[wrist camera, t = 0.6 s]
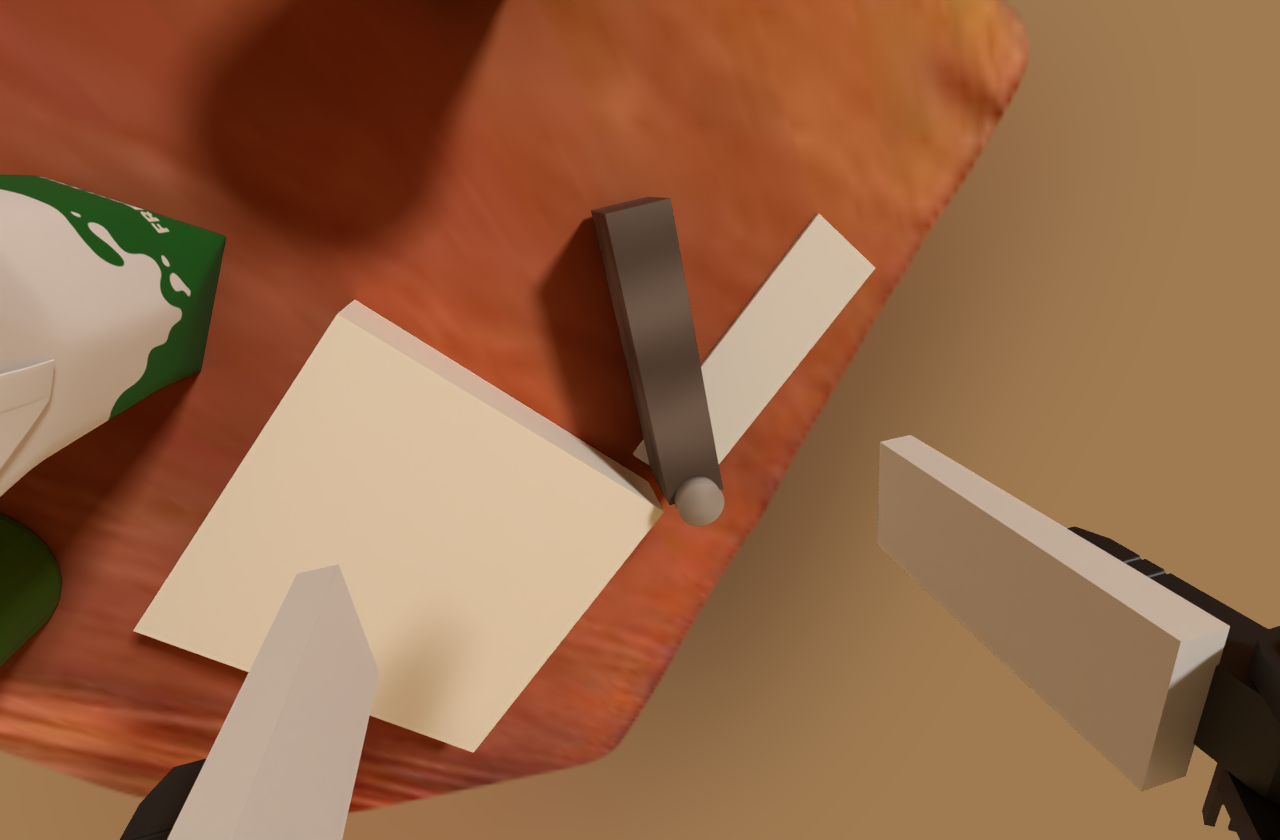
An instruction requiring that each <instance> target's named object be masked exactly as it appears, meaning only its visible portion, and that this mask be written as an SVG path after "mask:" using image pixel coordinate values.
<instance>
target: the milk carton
mask: <svg viewBox="0 0 1280 840" xmlns="http://www.w3.org/2000/svg"><path fill="white" fill-rule="evenodd" d="M225 240H226V237H225V236H223V235H220V234H217V233H214V232H211V231H208V230H205V229H202V228H199V227H196V226H193V225H190V224H187V223H184V222H181V221H178V220H174V219H171V218H168V217H165V216H162V215H159V214H156V213H153V212H150V211H147V210H144V209H141V208H138V207H135V206H132V205H128V204H125V203H122V202H119V201H116V200H113V199H110V198H107V197H104V196H101V195H97V194H94V193H91V192H88V191H85V190H82V189H79V188H76V187H73V186H69V185H66V184H63V183H60V182H57V181H54V180H51V179H47V178H43V177H39V176H31V175H0V497H1V496H2V495H3V494H4V493H5V492H6V491H7V490H8V489H9V488H11V487H12V486H13V485H14V484H15V483H16V482H17V481H18V480H20V479H21V478H22V477H23V476H24V475H25V474H26V473H28V472H29V471H30V470H31V469H32V468H34V467H35V466H36V465H38V464H39V463H40V462H42V461H43V460H45V459H46V458H48V457H49V456H51V455H53V454H54V453H56V452H58V451H59V450H61V449H62V448H64V447H66V446H67V445H69V444H70V443H72V442H74V441H75V440H77V439H79V438H80V437H82V436H83V435H85V434H87V433H88V432H90V431H92V430H93V429H95V428H97V427H98V426H100V425H101V424H103V423H105V422H106V421H108V420H110V419H111V418H113V417H114V416H116V415H118V414H119V413H121V412H123V411H124V410H126V409H128V408H129V407H131V406H132V405H134V404H136V403H137V402H139V401H141V400H142V399H144V398H146V397H147V396H149V395H151V394H152V393H154V392H155V391H157V390H159V389H161V388H163V387H166V386H168V385H170V384H172V383H174V382H177V381H179V380H181V379H183V378H185V377H188V376H190V375H192V374H194V373H197V372H199V371H201V368H202V363H203V357H204V352H205V347H206V341H207V336H208V331H209V325H210V320H211V315H212V309H213V304H214V299H215V293H216V288H217V283H218V277H219V272H220V267H221V262H222V256H223V251H224V246H225Z"/></svg>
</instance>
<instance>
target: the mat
mask: <svg viewBox="0 0 1280 840" xmlns="http://www.w3.org/2000/svg"><path fill="white" fill-rule="evenodd" d="M874 269H875V267H874V266H873V265H872V264H871V263H870V262H869V261H868V260H867V259H866V258H865V257H864V256H863V255H861V254H860V253H859V252H858V251H857V250H856V249H855V248H854V247H853V246H852V245H851V244H850V243H849V242H848V241H847V240H846V239H845V238H844V237H843V236H842V235H841V234H840V233H839V232H838V231H837V230H835V229H834V228H833V227H832V226H831V225H830V224H829V223H828V222H827V221H826V220H825V219H824V218H823V217H822V216H821V215H820V214H818V213H816V215H815V216H814V217H813V218H812V220H811V221H810V222H809V224H808V225H807V226H806V228H805V229H804V230H803V232H802V233H801V234H800V235H799V237H798V238H797V239H796V241H795V242H794V243H793V245H792V246H791V247H790V249H789V250H788V251H787V252H786V254H785V255H784V256H783V258H782V259H781V260H780V262H779V263H778V264H777V265H776V267H775V268H774V269H773V271H772V272H771V273H770V275H769V276H768V277H767V279H766V280H765V281H764V282H763V284H762V285H761V286H760V288H759V289H758V290H757V292H756V293H755V294H754V295H753V297H752V298H751V299H750V301H749V302H748V303H747V305H746V306H745V307H744V309H743V310H742V311H741V312H740V314H739V315H738V316H737V318H736V319H735V320H734V322H733V323H732V324H731V326H730V327H729V328H728V329H727V331H726V332H725V333H724V335H723V336H722V337H721V339H720V340H719V341H718V342H717V344H716V345H715V346H714V348H713V349H712V350H711V352H710V353H709V354H708V356H707V357H706V358H705V359H704V361H703V362H702V363H701V370H702V376H703V381H704V387H705V392H706V398H707V403H708V409H709V415H710V420H711V426H712V431H713V437H714V442H715V448H716V453H717V459H718V464H720V462H721V461H722V460H723V459H724V457H725V456H726V455H727V454H728V452H729V451H730V450H731V449H732V447H733V446H734V445H735V444H736V442H737V441H738V440H739V439H740V437H741V436H742V435H743V434H744V432H745V431H746V430H747V429H748V427H749V426H750V425H751V424H752V422H753V421H754V420H755V418H756V417H757V416H758V415H759V413H760V412H761V411H762V410H763V408H764V407H765V406H766V405H767V403H768V402H769V401H770V400H771V398H772V397H773V396H774V395H775V393H776V392H777V391H778V390H779V388H780V387H781V386H782V385H783V383H784V382H785V381H786V380H787V378H788V377H789V376H790V375H791V373H792V372H793V371H794V370H795V368H796V367H797V366H798V365H799V363H800V362H801V361H802V359H803V358H804V357H805V356H806V354H807V353H808V352H809V351H810V349H811V348H812V347H813V346H814V344H815V343H816V342H817V341H818V339H819V338H820V337H821V336H822V334H823V333H824V332H825V331H826V329H827V328H828V327H829V326H830V324H831V323H832V322H833V321H834V319H835V318H836V317H837V316H838V314H839V313H840V312H841V311H842V309H843V308H844V307H845V306H846V304H847V303H848V302H849V300H850V299H851V298H852V297H853V295H854V294H855V293H856V292H857V290H858V289H859V288H860V287H861V285H862V284H863V283H864V282H865V280H866V279H867V278H868V277H869V275H870V274H871V273H872V272H873V270H874ZM632 454H633V456H635V457H637V458H638V459H640V460H641V461H643V462H644V463H646V464H648V465H649V466H650V464H649V460H648V456H647V451H646V447H645V443H644V439H643V440H642V442H641V443H640V444H639V446H638V447H637V448H636V449H635V451H634V452H633V453H632Z"/></svg>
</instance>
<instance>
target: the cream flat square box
mask: <svg viewBox="0 0 1280 840" xmlns="http://www.w3.org/2000/svg"><path fill="white" fill-rule="evenodd" d="M663 512H664V510H663V508H662V507H661V505H660V503H659V501H658V499H657V497H656V495H655V493H654V491H653V489H652V488H651V486H650V484H649V482H648V481H646V480H645V479H643V478H642V477H640V476H638V475H637V474H635V473H633V472H632V471H630V470H629V469H627V468H625V467H624V466H622V465H621V464H619V463H617V462H616V461H614V460H613V459H611V458H609V457H608V456H606V455H604V454H603V453H601V452H600V451H598V450H596V449H595V448H593V447H592V446H590V445H588V444H587V443H585V442H584V441H582V440H580V439H579V438H577V437H575V436H574V435H572V434H571V433H569V432H567V431H566V430H564V429H563V428H561V427H559V426H558V425H556V424H555V423H553V422H551V421H550V420H548V419H546V418H545V417H543V416H542V415H540V414H538V413H537V412H535V411H534V410H532V409H530V408H529V407H527V406H526V405H524V404H522V403H521V402H519V401H517V400H516V399H514V398H513V397H511V396H509V395H508V394H506V393H505V392H503V391H501V390H500V389H498V388H497V387H495V386H493V385H492V384H490V383H488V382H487V381H485V380H484V379H482V378H480V377H479V376H477V375H476V374H474V373H472V372H471V371H469V370H468V369H466V368H464V367H463V366H461V365H459V364H458V363H456V362H455V361H453V360H451V359H450V358H448V357H447V356H445V355H443V354H442V353H440V352H439V351H437V350H435V349H434V348H432V347H430V346H429V345H427V344H426V343H424V342H422V341H421V340H419V339H418V338H416V337H414V336H413V335H411V334H409V333H408V332H406V331H405V330H403V329H401V328H400V327H398V326H397V325H395V324H393V323H392V322H390V321H389V320H387V319H385V318H384V317H382V316H380V315H379V314H377V313H376V312H374V311H372V310H371V309H369V308H368V307H366V306H364V305H363V304H361V303H360V302H358V301H356V300H353V301H352V302H351V303H350V304H349V305H347V306H346V307H345V308H344V309H343V310H341V311H340V312H339V313H338V314H337V315H336V317H335V318H334V320H333V321H332V323H331V324H330V326H329V327H328V329H327V331H326V332H325V334H324V335H323V337H322V338H321V340H320V341H319V343H318V345H317V346H316V348H315V349H314V351H313V352H312V354H311V355H310V357H309V359H308V360H307V362H306V363H305V365H304V366H303V368H302V369H301V371H300V372H299V374H298V376H297V377H296V379H295V380H294V382H293V383H292V385H291V386H290V388H289V390H288V391H287V393H286V394H285V396H284V397H283V399H282V400H281V402H280V404H279V405H278V407H277V408H276V410H275V411H274V413H273V414H272V416H271V418H270V419H269V421H268V422H267V424H266V425H265V427H264V428H263V430H262V432H261V433H260V435H259V436H258V438H257V439H256V441H255V442H254V444H253V446H252V447H251V449H250V450H249V452H248V453H247V455H246V456H245V458H244V460H243V461H242V463H241V464H240V466H239V467H238V469H237V470H236V472H235V473H234V475H233V477H232V478H231V480H230V481H229V483H228V484H227V486H226V487H225V489H224V491H223V492H222V494H221V495H220V497H219V498H218V500H217V501H216V503H215V505H214V506H213V508H212V509H211V511H210V512H209V514H208V515H207V517H206V519H205V520H204V522H203V523H202V525H201V526H200V528H199V529H198V531H197V533H196V534H195V536H194V537H193V539H192V540H191V542H190V543H189V545H188V547H187V548H186V550H185V551H184V553H183V554H182V556H181V557H180V559H179V560H178V562H177V564H176V565H175V567H174V568H173V570H172V571H171V573H170V574H169V576H168V578H167V579H166V581H165V582H164V584H163V585H162V587H161V588H160V590H159V592H158V593H157V595H156V596H155V598H154V599H153V601H152V602H151V604H150V606H149V607H148V609H147V610H146V612H145V613H144V615H143V616H142V618H141V620H140V621H139V623H138V624H137V626H136V627H135V629H134V630H133V631H134V632H137V633H140V634H143V635H146V636H148V637H151V638H154V639H157V640H160V641H162V642H165V643H168V644H171V645H174V646H176V647H179V648H182V649H185V650H188V651H190V652H193V653H196V654H199V655H202V656H204V657H207V658H210V659H213V660H216V661H218V662H221V663H224V664H227V665H230V666H232V667H235V668H238V669H241V670H244V671H246V672H249V671H250V669H251V667H252V665H253V663H254V661H255V659H256V657H257V655H258V652H259V650H260V648H261V646H262V644H263V642H264V640H265V638H266V636H267V634H268V632H269V630H270V628H271V626H272V624H273V622H274V620H275V618H276V616H277V614H278V612H279V609H280V607H281V605H282V603H283V601H284V599H285V597H286V595H287V593H288V591H289V589H290V587H291V585H292V583H293V581H294V579H295V577H296V575H297V574H298V573H302V572H307V571H311V570H316V569H320V568H324V567H329V566H333V565H338V564H339V567H340V569H341V572H342V575H343V577H344V580H345V583H346V585H347V588H348V591H349V593H350V596H351V599H352V601H353V604H354V607H355V609H356V612H357V615H358V617H359V620H360V623H361V625H362V628H363V631H364V633H365V636H366V639H367V641H368V644H369V647H370V649H371V652H372V655H373V657H374V660H375V663H376V665H377V668H378V671H379V676H378V680H377V685H376V689H375V694H374V698H373V703H372V707H371V712H370V716H372V717H375V718H378V719H381V720H384V721H386V722H389V723H392V724H395V725H398V726H400V727H403V728H406V729H409V730H412V731H414V732H417V733H420V734H423V735H426V736H428V737H431V738H434V739H437V740H440V741H442V742H445V743H448V744H451V745H454V746H456V747H459V748H462V749H465V750H468V751H470V752H473V753H474V751H475V750H476V749H477V747H478V746H479V745H480V744H481V742H482V741H483V740H484V739H485V737H486V736H487V735H488V734H489V732H490V731H491V730H492V729H493V727H494V726H495V725H496V723H497V722H498V721H499V720H500V718H501V717H502V716H503V715H504V713H505V712H506V711H507V710H508V708H509V707H510V706H511V705H512V703H513V702H514V701H515V699H516V698H517V697H518V696H519V694H520V693H521V692H522V691H523V689H524V688H525V687H526V686H527V684H528V683H529V682H530V680H531V679H532V678H533V677H534V675H535V674H536V673H537V672H538V670H539V669H540V668H541V667H542V665H543V664H544V663H545V662H546V660H547V659H548V658H549V656H550V655H551V654H552V653H553V651H554V650H555V649H556V648H557V646H558V645H559V644H560V643H561V641H562V640H563V639H564V638H565V636H566V635H567V634H568V632H569V631H570V630H571V629H572V627H573V626H574V625H575V624H576V622H577V621H578V620H579V619H580V617H581V616H582V615H583V613H584V612H585V611H586V610H587V608H588V607H589V606H590V605H591V603H592V602H593V601H594V600H595V598H596V597H597V596H598V595H599V593H600V592H601V591H602V589H603V588H604V587H605V586H606V584H607V583H608V582H609V581H610V579H611V578H612V577H613V576H614V574H615V573H616V572H617V571H618V569H619V568H620V567H621V565H622V564H623V563H624V562H625V560H626V559H627V558H628V557H629V555H630V554H631V553H632V552H633V550H634V549H635V548H636V546H637V545H638V544H639V543H640V541H641V540H642V539H643V538H644V536H645V535H646V534H647V533H648V531H649V530H650V529H651V528H652V526H653V525H654V524H655V522H656V521H657V520H658V519H659V517H660V516H661V515H662V514H663Z"/></svg>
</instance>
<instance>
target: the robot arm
mask: <svg viewBox="0 0 1280 840" xmlns="http://www.w3.org/2000/svg"><path fill="white" fill-rule="evenodd" d="M879 463H880V465H879V505H878V546H879V547H880V548H881V549H882V550H883V551H884V552H885V553H886V554H887V555H888V556H889V557H890V558H892V559H893V560H894V561H895V562H896V563H897V564H898V565H899V566H900V567H901V568H902V569H904V571H906V572H907V573H908V574H909V575H910V576H911V577H912V578H913V579H914V580H915V581H916V582H917V583H919V584H920V586H922V587H923V588H924V589H925V590H926V591H927V592H928V593H929V594H930V595H931V596H932V597H933V598H934V599H936V600H937V601H938V602H939V603H940V604H941V605H942V606H943V607H944V608H945V609H946V610H947V611H948V612H949V613H950V614H952V615H953V616H954V617H955V618H956V619H957V620H958V621H959V622H960V623H961V624H962V625H963V626H964V627H966V628H967V629H968V630H969V631H970V632H971V633H972V634H973V635H974V636H975V637H976V638H977V639H978V640H979V641H980V642H982V643H983V644H984V645H985V646H986V647H987V648H988V649H989V650H990V651H991V652H993V654H994V655H996V656H997V657H998V658H999V659H1000V660H1001V661H1002V662H1003V663H1004V664H1005V665H1006V666H1007V667H1009V669H1011V670H1012V671H1013V672H1014V673H1015V674H1016V675H1017V676H1018V677H1019V678H1020V679H1021V680H1022V681H1024V683H1026V684H1027V685H1028V686H1029V687H1030V688H1031V689H1032V690H1033V691H1034V692H1035V693H1036V694H1037V695H1038V696H1040V698H1042V699H1043V700H1044V701H1045V702H1046V703H1047V704H1048V705H1049V706H1050V707H1052V709H1053V710H1054V711H1056V712H1057V713H1058V714H1059V715H1060V716H1061V717H1062V718H1063V719H1064V720H1065V721H1066V722H1067V723H1068V724H1070V725H1071V726H1072V727H1073V728H1074V729H1075V730H1076V731H1077V732H1078V733H1079V734H1080V735H1081V736H1082V737H1083V738H1085V739H1086V740H1087V741H1088V742H1089V743H1090V744H1091V745H1092V746H1093V747H1094V748H1095V749H1096V750H1097V751H1098V752H1099V753H1101V754H1102V755H1103V756H1104V757H1105V758H1106V759H1107V760H1108V761H1109V762H1110V763H1111V764H1112V765H1113V766H1114V767H1116V768H1117V769H1118V770H1119V771H1120V772H1121V773H1122V774H1123V775H1124V776H1125V777H1126V778H1127V779H1128V780H1130V781H1131V782H1132V783H1133V784H1134V785H1135V786H1136V787H1137V788H1138V789H1139V790H1140V791H1144V790H1147V789H1150V788H1153V787H1156V786H1159V785H1161V784H1164V783H1167V782H1170V781H1173V780H1176V779H1178V778H1181V777H1184V776H1186V773H1187V769H1188V766H1189V762H1190V759H1191V756H1192V752H1193V749H1194V746H1195V745H1196V746H1197V747H1199V748H1200V749H1201V750H1202V751H1204V752H1205V753H1206V754H1207V755H1209V756H1210V757H1211V758H1212V759H1214V760H1215V761H1216V762H1217V766H1216V769H1215V772H1214V775H1213V778H1212V782H1211V785H1210V788H1209V791H1208V794H1207V797H1206V800H1205V803H1204V806H1203V810H1202V812H1203V819H1204V824H1205V825H1209V826H1213V827H1214V826H1215V823H1216V820H1217V817H1218V815H1219V811H1220V808H1221V806H1222V805H1225V808H1226V810H1227V812H1228V814H1229V816H1230V818H1231V820H1230V823H1229V826H1228V829H1229V830H1231V831H1235V832H1237V834H1238V836H1239V838H1240V840H1280V626H1278V627H1275V628H1272V629H1267V628H1265V627H1263V626H1262V625H1260V624H1258V623H1256V622H1254V621H1253V620H1251V619H1249V618H1248V617H1246V616H1244V615H1242V614H1241V613H1239V612H1237V611H1235V610H1234V609H1232V608H1230V607H1228V606H1227V605H1225V604H1223V603H1221V602H1220V601H1218V600H1216V599H1214V598H1213V597H1211V596H1209V595H1207V594H1206V593H1204V592H1202V591H1200V590H1198V589H1197V588H1195V587H1193V586H1191V585H1190V584H1188V583H1187V582H1185V581H1183V580H1181V579H1180V578H1178V577H1176V576H1174V575H1173V574H1171V573H1170V574H1166V573H1165V572H1164V569H1162V568H1160V567H1159V566H1157V565H1155V564H1153V563H1151V562H1150V561H1148V560H1146V559H1144V560H1142V559H1140V556H1139V555H1138V554H1136V553H1134V552H1132V551H1131V550H1129V549H1127V548H1125V547H1124V546H1122V545H1120V544H1118V543H1117V542H1115V541H1113V540H1111V539H1110V538H1107V537H1104V536H1100V535H1098V534H1095V533H1092V532H1089V531H1086V530H1084V529H1080V528H1078V527H1071V528H1065V527H1063V526H1062V525H1060V524H1058V523H1057V522H1055V521H1053V520H1052V519H1050V518H1048V517H1047V516H1045V515H1043V514H1042V513H1040V512H1038V511H1037V510H1035V509H1033V508H1032V507H1030V506H1028V505H1026V504H1025V503H1023V502H1022V501H1020V500H1018V499H1017V498H1015V497H1013V496H1011V495H1010V494H1008V493H1007V492H1005V491H1003V490H1002V489H1000V488H998V487H996V486H995V485H993V484H992V483H990V482H988V481H987V480H985V479H983V478H981V477H980V476H978V475H976V474H975V473H973V472H972V471H970V470H968V469H966V468H965V467H963V466H961V465H960V464H958V463H957V462H955V461H953V460H951V459H950V458H948V457H946V456H945V455H943V454H941V453H940V452H938V451H936V450H934V449H933V448H931V447H930V446H928V445H926V444H925V443H923V442H921V441H920V440H918V439H916V438H915V437H913V436H911V435H909V436H905V437H900V438H896V439H891V440H887V441H882V442H880V462H879ZM378 676H379V671H378V668H377V665H376V663H375V660H374V657H373V655H372V652H371V649H370V647H369V644H368V641H367V639H366V636H365V633H364V631H363V628H362V625H361V623H360V620H359V617H358V615H357V612H356V609H355V607H354V604H353V601H352V599H351V596H350V593H349V591H348V588H347V585H346V583H345V580H344V577H343V575H342V572H341V569H340V567H339V564H338V565H333V566H329V567H324V568H320V569H316V570H311V571H307V572H302V573H298V574H297V575H296V577H295V579H294V581H293V583H292V585H291V587H290V589H289V591H288V593H287V595H286V597H285V599H284V601H283V603H282V605H281V607H280V609H279V612H278V614H277V616H276V618H275V620H274V622H273V624H272V626H271V628H270V630H269V632H268V634H267V636H266V638H265V640H264V642H263V644H262V646H261V648H260V650H259V652H258V655H257V657H256V659H255V661H254V663H253V665H252V667H251V669H250V671H249V673H248V675H247V677H246V679H245V681H244V683H243V685H242V687H241V689H240V691H239V693H238V695H237V697H236V700H235V702H234V704H233V706H232V708H231V710H230V712H229V714H228V716H227V718H226V720H225V722H224V724H223V726H222V728H221V730H220V732H219V734H218V736H217V738H216V740H215V743H214V745H213V747H212V749H211V751H210V753H209V755H208V757H207V759H203V760H199V761H195V762H191V763H188V764H184V765H180V766H176V767H173V768H172V769H171V771H170V772H169V773H168V774H167V775H166V776H165V777H164V778H163V779H162V780H161V781H160V783H159V784H158V785H157V786H156V787H155V788H154V789H153V790H152V791H151V792H150V793H149V794H148V796H147V797H146V798H145V799H144V800H143V801H142V802H141V803H140V805H139V806H138V808H137V810H136V812H135V813H134V815H133V817H132V819H131V820H130V822H129V824H128V826H127V828H126V829H125V831H124V833H123V835H122V837H121V838H120V840H342V838H343V833H344V828H345V824H346V820H347V815H348V811H349V806H350V802H351V797H352V793H353V788H354V784H355V779H356V775H357V770H358V766H359V761H360V757H361V752H362V748H363V743H364V739H365V734H366V730H367V725H368V721H369V716H370V712H371V707H372V703H373V698H374V694H375V689H376V685H377V680H378Z"/></svg>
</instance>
